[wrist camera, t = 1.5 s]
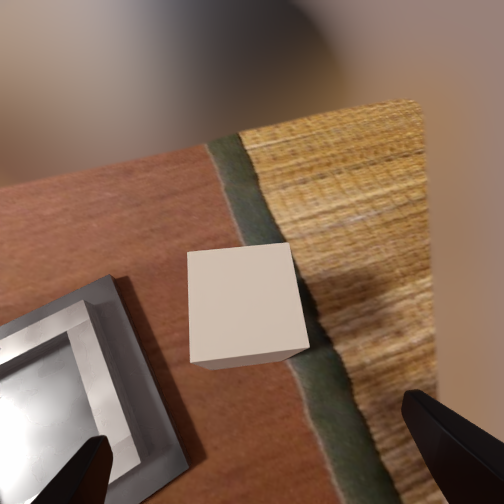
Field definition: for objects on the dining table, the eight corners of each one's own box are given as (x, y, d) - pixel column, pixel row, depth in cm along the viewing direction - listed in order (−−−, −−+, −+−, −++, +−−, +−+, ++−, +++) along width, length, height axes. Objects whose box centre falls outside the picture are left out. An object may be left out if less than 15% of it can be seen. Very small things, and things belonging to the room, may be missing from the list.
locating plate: (191, 463, 17) (184, 475, 15) (-67, 646, 13) (-130, 699, 11) (115, 278, 22) (100, 266, 20) (-90, 378, 18) (-136, 377, 16)
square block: (281, 361, 20) (309, 347, 12) (211, 370, 19) (190, 362, 11) (270, 294, 22) (288, 242, 14) (207, 300, 21) (187, 252, 13)
